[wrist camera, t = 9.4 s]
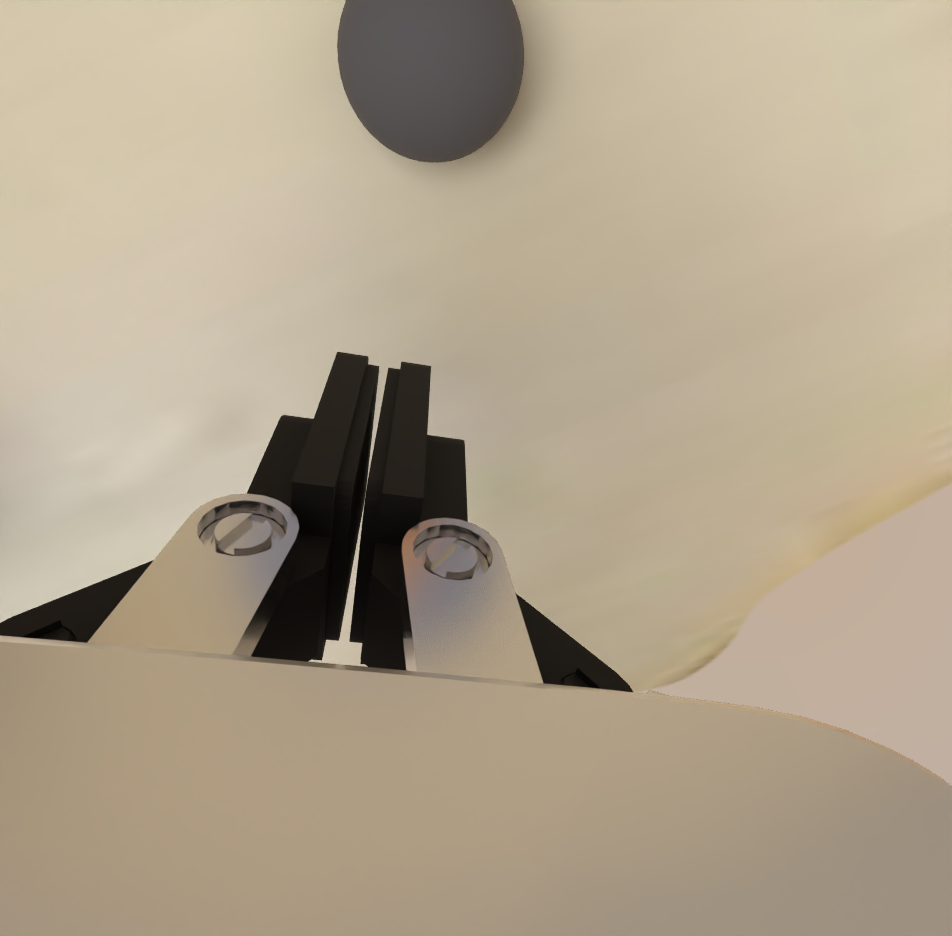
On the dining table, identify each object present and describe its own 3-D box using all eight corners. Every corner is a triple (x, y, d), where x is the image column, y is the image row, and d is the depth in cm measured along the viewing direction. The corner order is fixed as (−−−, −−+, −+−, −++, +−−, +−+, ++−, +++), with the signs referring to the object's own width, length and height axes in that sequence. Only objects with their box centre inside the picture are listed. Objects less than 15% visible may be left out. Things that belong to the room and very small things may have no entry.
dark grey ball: (550, 159, 18) (541, 86, 22) (487, -74, 14) (489, -116, 18) (379, 218, 20) (397, 141, 23) (280, 23, 16) (320, -34, 19)
